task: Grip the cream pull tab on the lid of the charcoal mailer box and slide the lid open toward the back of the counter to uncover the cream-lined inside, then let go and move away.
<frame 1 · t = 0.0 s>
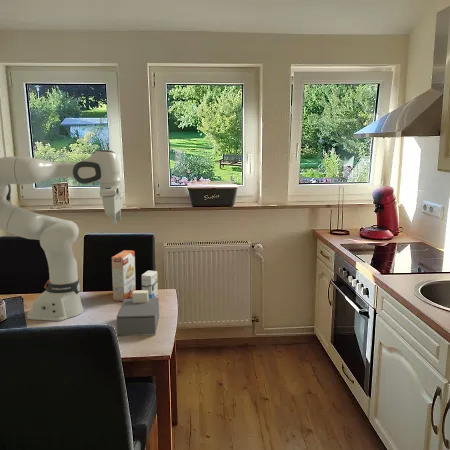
hand: (116, 222, 172), 39 cm above the table, tool pointing down, fingers open, 8 cm apart
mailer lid: (138, 302, 163), point 10 cm above the table, slide at 0.0 cm
ink box: (150, 297, 196), on the table
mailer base: (139, 325, 164), on the table
cracker box: (125, 296, 197), on the table
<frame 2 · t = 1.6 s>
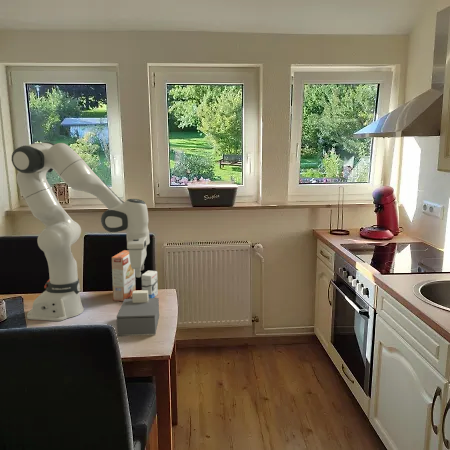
hand: (140, 273, 167), 20 cm above the table, tool pointing down, fingers open, 8 cm apart
nothing on the table moved.
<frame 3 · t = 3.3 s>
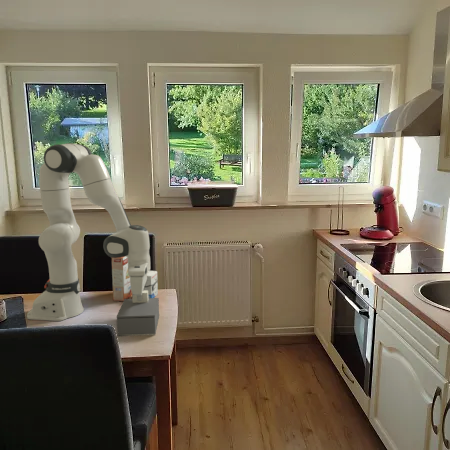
hand: (140, 298, 169), 9 cm above the table, tool pointing down, fingers closed on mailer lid, 3 cm apart
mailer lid: (138, 302, 163), point 10 cm above the table, slide at 0.0 cm, touching gripper
everything else where it was.
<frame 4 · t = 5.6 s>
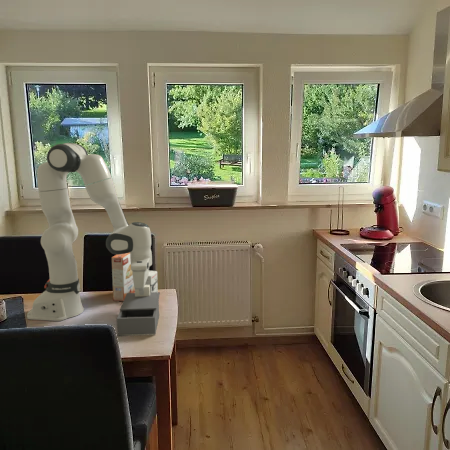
hand: (142, 292, 175), 9 cm above the table, tool pointing down, fingers closed on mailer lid, 3 cm apart
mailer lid: (140, 296, 169), point 10 cm above the table, slide at 7.0 cm, touching gripper
everything else where it was.
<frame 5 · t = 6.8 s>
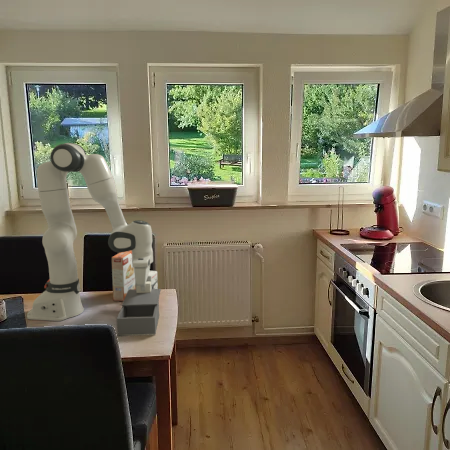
hand: (143, 288, 180), 9 cm above the table, tool pointing down, fingers closed on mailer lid, 3 cm apart
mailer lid: (142, 292, 174), point 10 cm above the table, slide at 11.4 cm, touching gripper
everything else where it was.
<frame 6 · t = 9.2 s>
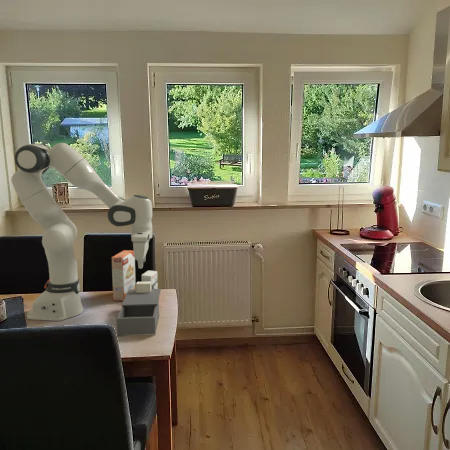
hand: (142, 264, 178), 20 cm above the table, tool pointing down, fingers open, 8 cm apart
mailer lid: (142, 292, 174), point 10 cm above the table, slide at 11.5 cm
everything else where it was.
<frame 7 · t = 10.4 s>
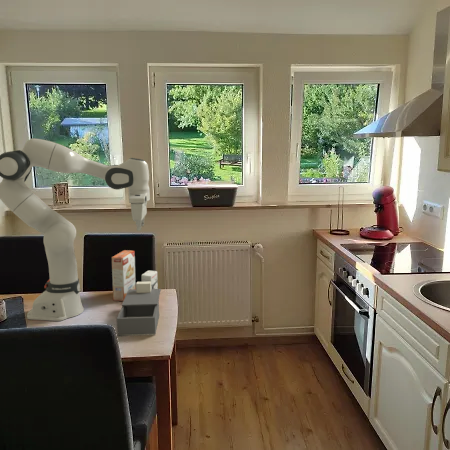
hand: (140, 228, 179), 35 cm above the table, tool pointing down, fingers open, 8 cm apart
nothing on the table moved.
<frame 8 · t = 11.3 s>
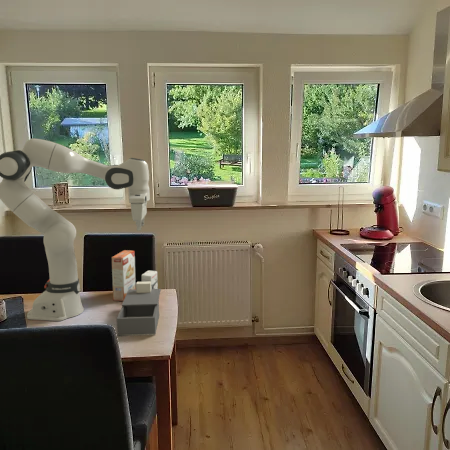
hand: (140, 228, 179), 35 cm above the table, tool pointing down, fingers open, 8 cm apart
nothing on the table moved.
at the end: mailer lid slide at 11.5 cm; the gripper is holding nothing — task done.
